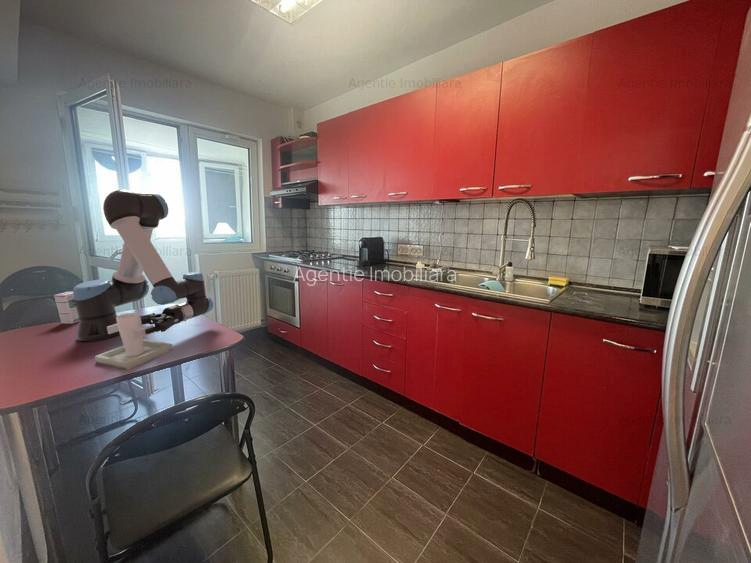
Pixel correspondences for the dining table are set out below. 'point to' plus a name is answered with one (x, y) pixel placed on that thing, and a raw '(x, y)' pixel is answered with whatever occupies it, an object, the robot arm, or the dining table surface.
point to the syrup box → (67, 308)
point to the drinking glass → (130, 333)
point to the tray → (125, 362)
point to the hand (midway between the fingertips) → (120, 332)
